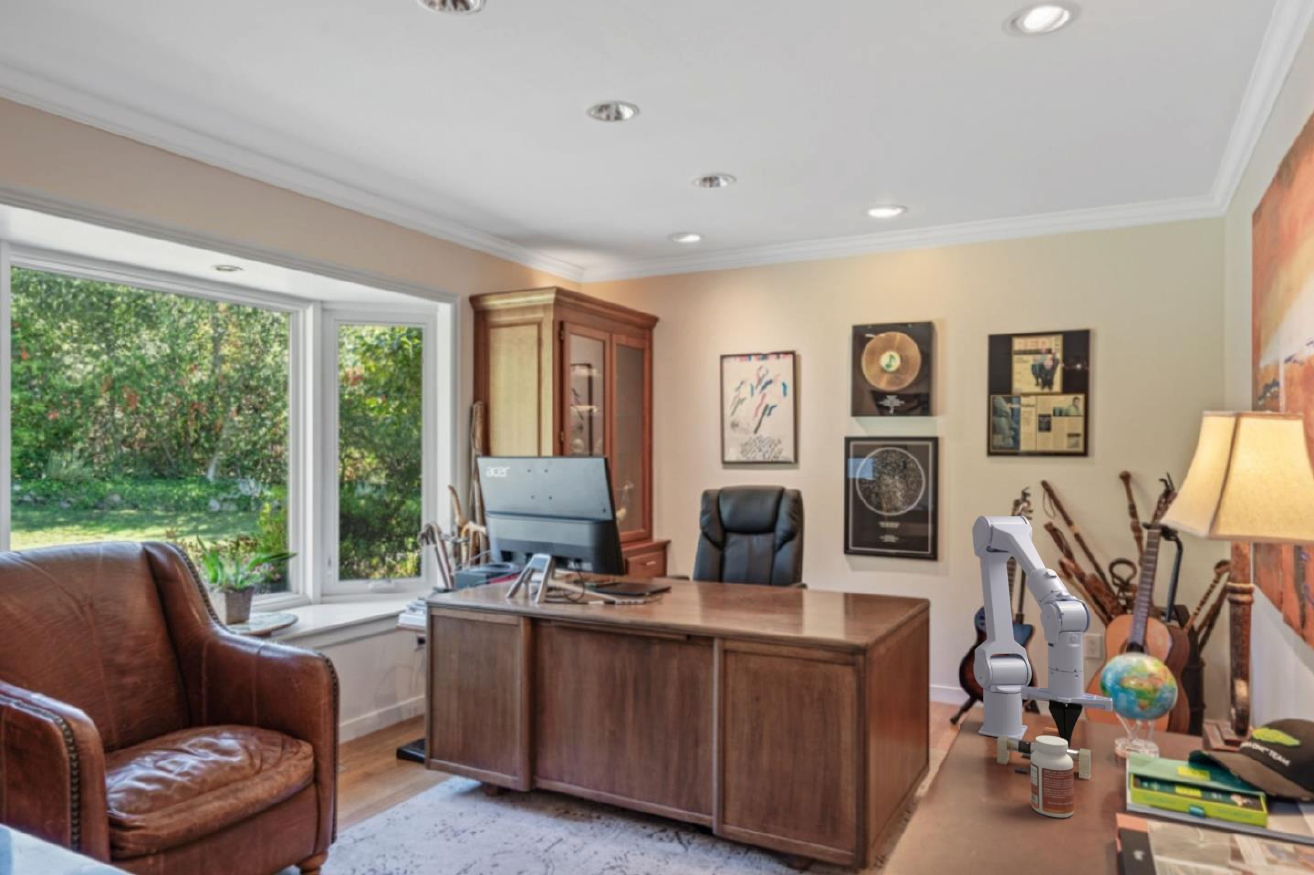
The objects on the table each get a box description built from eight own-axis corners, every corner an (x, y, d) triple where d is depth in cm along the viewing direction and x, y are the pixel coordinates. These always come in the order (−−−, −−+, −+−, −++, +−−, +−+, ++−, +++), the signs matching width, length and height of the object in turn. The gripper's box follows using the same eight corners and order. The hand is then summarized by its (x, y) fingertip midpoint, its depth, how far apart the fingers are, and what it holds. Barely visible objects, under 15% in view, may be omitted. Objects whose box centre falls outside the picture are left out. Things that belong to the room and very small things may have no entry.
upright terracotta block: (1041, 772, 146) (1041, 736, 146) (1045, 762, 151) (1045, 726, 151) (1057, 775, 145) (1056, 738, 145) (1060, 764, 150) (1060, 729, 150)
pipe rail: (994, 768, 149) (993, 744, 149) (1003, 752, 157) (1003, 729, 157) (1087, 786, 141) (1087, 760, 141) (1092, 768, 149) (1091, 744, 149)
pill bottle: (1082, 813, 130) (1081, 742, 130) (1060, 822, 126) (1059, 749, 127) (1045, 799, 135) (1044, 731, 135) (1022, 808, 132) (1022, 737, 132)
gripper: (1018, 667, 148) (1018, 744, 147) (1110, 679, 140) (1111, 760, 140) (1023, 659, 154) (1024, 733, 153) (1112, 670, 146) (1113, 747, 146)
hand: (1066, 745), depth 147 cm, fingers closed
